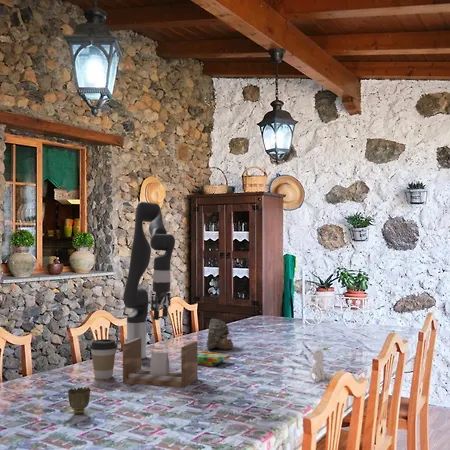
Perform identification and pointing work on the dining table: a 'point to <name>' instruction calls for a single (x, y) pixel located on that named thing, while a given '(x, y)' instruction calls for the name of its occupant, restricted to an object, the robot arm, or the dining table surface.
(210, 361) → the puzzle game
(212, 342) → the rock
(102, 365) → the coffee cup
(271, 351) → the dining table surface
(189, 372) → the wooden rack
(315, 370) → the seated beast figurine
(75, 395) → the cup
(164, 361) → the white food carton
